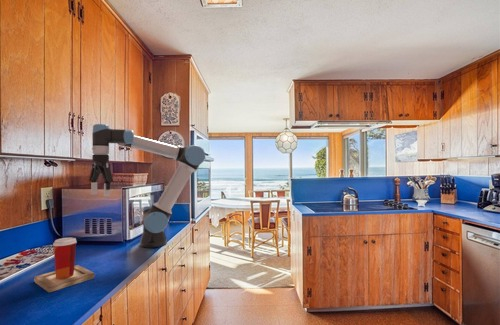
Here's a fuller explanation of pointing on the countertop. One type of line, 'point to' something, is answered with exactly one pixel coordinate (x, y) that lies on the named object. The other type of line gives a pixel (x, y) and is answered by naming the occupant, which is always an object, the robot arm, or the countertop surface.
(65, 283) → the square tray
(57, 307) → the countertop surface
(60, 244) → the coffee cup
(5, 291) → the countertop surface
